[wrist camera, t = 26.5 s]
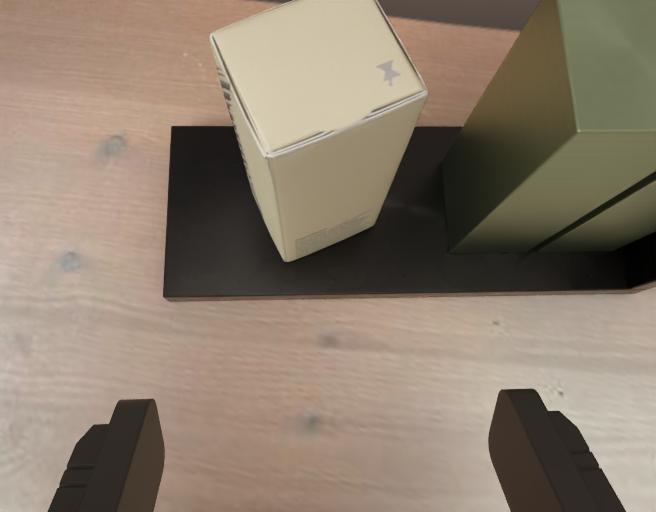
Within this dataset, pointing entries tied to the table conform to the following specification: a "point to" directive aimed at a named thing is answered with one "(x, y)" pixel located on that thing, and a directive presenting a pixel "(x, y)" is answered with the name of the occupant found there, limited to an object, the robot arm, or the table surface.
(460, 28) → the table surface
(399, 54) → the box
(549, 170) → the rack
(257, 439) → the table surface
